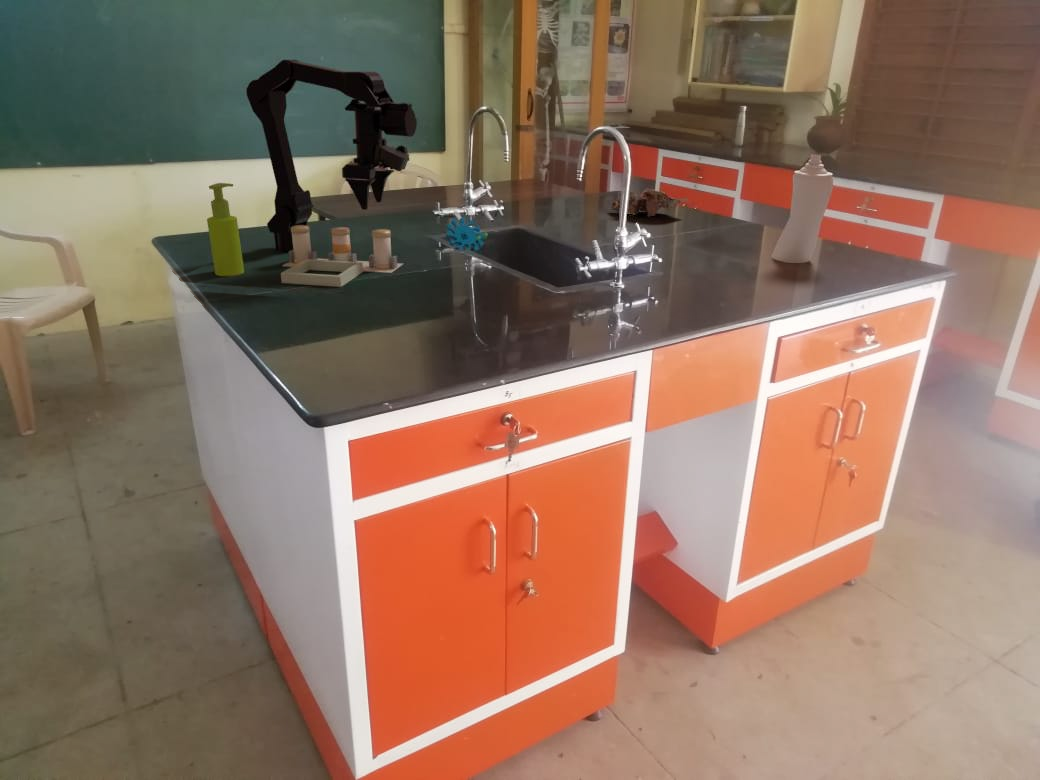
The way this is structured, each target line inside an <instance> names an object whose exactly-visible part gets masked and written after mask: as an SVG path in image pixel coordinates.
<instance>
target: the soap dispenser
mask: <svg viewBox="0 0 1040 780" xmlns="http://www.w3.org/2000/svg"><path fill="white" fill-rule="evenodd" d="M233 186H234V184H233V183H228V182H227V183H224V182H217V183H214V184H210V185H209V186H208V188H209V190H213V196H214V199H212V200H211V201H210V204H211V205H210V206H211V213H212V216H210V217H208V218H206V223H207V229H208V235H209V242H210V247H211V255H212V261H213V267H214V275H216V276H220V277H231V276H232V277H234V276H238V275H239V276H240V275H241V274H244V273H245V270H244V269H245V268H244V261H243V260H244V259H243V254H242V246H241V239H240V233H239V224H238V218H237V216H234V215H231V212H230V211H231V210H230V205H229V201H228V200H226V199H225V198H224V195H223V189H224V188H227V187H233Z"/></svg>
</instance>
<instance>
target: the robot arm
mask: <svg viewBox="0 0 1040 780" xmlns="http://www.w3.org/2000/svg"><path fill="white" fill-rule="evenodd" d="M297 82H302V83H305V84H311V85H315V86H318V87H323V88H329V89H332V90H336V91H338V92H340V93H342V94H343V95H344V96H346V97H349V98H351V101H350V102H349V103H348V104H347V105H346V106H345V107H344V110H345V111H346V112H347V111H348V112H354V125H355V128H354V129H355V130H354V131H355V138H354V137H353V138H352V144H354V145H355V147H356V148H355V149H356V157H353V162H349V163H346V164H345V165H344V166H343V167H342V168H341V175H342V178H344V180H345V182H347V183H348V186H349V187H350V189H351V191H352V193H353V194H354V196H355V198H356V200H357V202H358V204H359V206H360V208H361V209H362V210H365V211H366V210H368V206H369V198H370V197H369V196H370V187H371V190H372V194H373V197H374V199H375V202H376V203H382V200H383V195H384V191H385V187H386V183H387V179H388V177H390V176H391V174H393V173H394V172H395V171H398V172H402V171H403V170H406V167H407V163H408V162H409V161H410V154H409V152H408V147H407V146H405V145H402V144H400V145H398V146H397V147H396V148H395V147H394V146H393V147H392V146H388V145H387V144H388V143H387V139H386V138H385V137H383V132H384V134H385V135H387V136H396V137H409V138H410V137H411V138H412V137H413V136H414V135H415V133H416V131H417V125H418V123H417V120H418V119H417V118H416V113H415V111H414V109H413V106H412V105H413V104H412V102H400V103H397V102H395V100H394V99H393V97H392V96H391V94H390V93H389V91H388V90H387V88H386V87H385V82H384V80H383V78H382V76H381V74H379V73H378V72H376V71H343V70H339V69H334V68H330V67H326V66H322V65H321V66H320V65H315V64H312V63H307V62H302V61H299V60H297V59H282V60H280V62H278V63H277V64H276V65H275V66H274V67H272V69H269V70H268V71H267V72H265V73H263V74H262V75H261V76H260V77H258V78H257V79H254V80H251V81H250V82H249V83H248V85H247V87H246V90H245V91H246V97H247V100H248V102H249V105H250V108H251V110H252V112H253V113H254V114H255V117H257V118H258V119H259V122H260V124H262V125H261V126H262V129H263V133H264V138H265V142H266V146H267V151H268V154H269V159H270V162H271V167H272V171H273V176H274V179H275V182H276V191H275V197H274V200H273V201H274V209H275V210H274V211H275V212H274V215H272V217H271V218H270V219H269V221H268V222H267V223H266V226H267V228H268V231H269V233H272V234H273V237H274V244H275V245H274V246H275V251H278V252H282V253H288V252H289V251H291V250H293V241H292V232H291V227H292V226H296V225H307V226H308V221H309V219H310V218H311V217H312V215H313V208H314V204H313V203H312V199H311V193H310V190H309V189H308V190H304V189H303V188H302V187H301V185H300V184H299V181H298V177H297V172H296V166H295V163H294V159H293V154H292V151H291V146H290V145H291V144H290V141H289V137H288V133H287V127H286V124H285V115H286V112H287V111H286V110H287V94H288V93H290V92H291V91H292V90H293V88H294V87H295V85H296V83H297Z"/></svg>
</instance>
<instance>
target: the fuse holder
mask: <svg viewBox="0 0 1040 780" xmlns="http://www.w3.org/2000/svg"><path fill="white" fill-rule="evenodd" d="M287 253H288V259H289V261H288V262H286V263H284V264H282V265H281V266H282V267H289V268H291V267H293V266H295V265H297V264H295V263H294V250H291V251H289V252H287ZM327 255H328V256H327V257H328V258H319V257H318V255H317V250H313V251H311V253H310V257H311V259H312V260H329V261H334V254H333V251H331V252H329V253H328V254H327ZM357 257H358V256H357V253H355V252H354V253H351V255H350V259H351V262H362V263H363V272H372V273H374V272H375V273H387V274H392V273H393V272H394V271H396V270H398V269H399V268H400V267H401V266H403V265H404V263H399V262H398V256H397V255H393V256H391V264H392V268H390V269H383V270H382V269H375V268H374V253H372V254H371V255H368V261H366V260H364V261H363V260H358V259H357Z"/></svg>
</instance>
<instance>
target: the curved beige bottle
mask: <svg viewBox="0 0 1040 780" xmlns="http://www.w3.org/2000/svg"><path fill="white" fill-rule="evenodd" d="M821 158H822V155H821V154H816V153H815V154H814V153H813V154H810V158H809V159H808V162H806V163H805V165H804V167H801V168H800V170H795V171H794V174H793V175H792V192H791V195H792V196H791V204H790V215H789V219H788V220H787V222H786V224H785V227H784V228H783V231H782V233H781V235H780V237H779V239H778V241H777V243H776V245H775V247H774V250H773V252H772V255H771V259H773V260H775V261H777V262H781V263H788V264H805V263H809V262H810V260H811V258H812V256H813V254H814V252H815V250H816V246H817V242H818V238H819V235H820V234H819V233H820V229H821V225H822V220H823V218H824V216H825V213H826V209H827V206H828V205H829V202H830V199H831V196H832V193H833V192H834V177H833V173H832V172H829V171H827V169H825V168H824V167H825V164H822V163H823V162H822V160H821Z"/></svg>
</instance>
